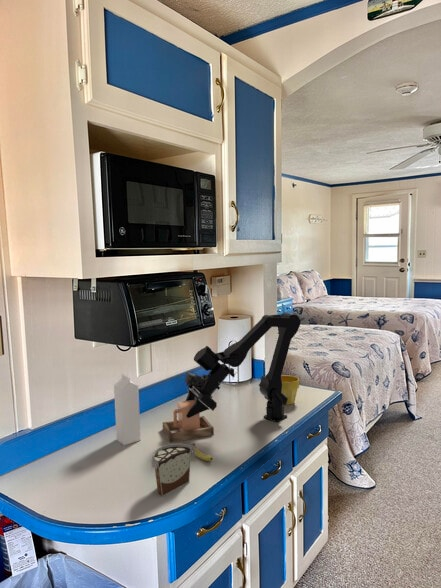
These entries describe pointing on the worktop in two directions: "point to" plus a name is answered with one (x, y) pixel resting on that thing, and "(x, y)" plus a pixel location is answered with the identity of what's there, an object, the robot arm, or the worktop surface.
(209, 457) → the banana
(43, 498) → the worktop surface
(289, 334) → the robot arm
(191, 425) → the peach box with tab
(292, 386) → the plant pot
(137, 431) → the milk
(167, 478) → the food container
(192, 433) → the frame
